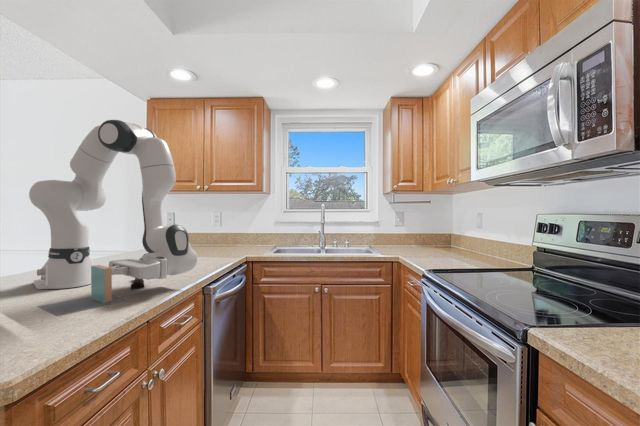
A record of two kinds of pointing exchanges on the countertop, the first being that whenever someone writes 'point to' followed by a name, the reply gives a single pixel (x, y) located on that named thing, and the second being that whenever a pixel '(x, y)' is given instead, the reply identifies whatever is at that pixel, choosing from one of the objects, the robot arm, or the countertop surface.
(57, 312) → the board
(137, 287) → the hand tool
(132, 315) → the countertop surface
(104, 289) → the tile
